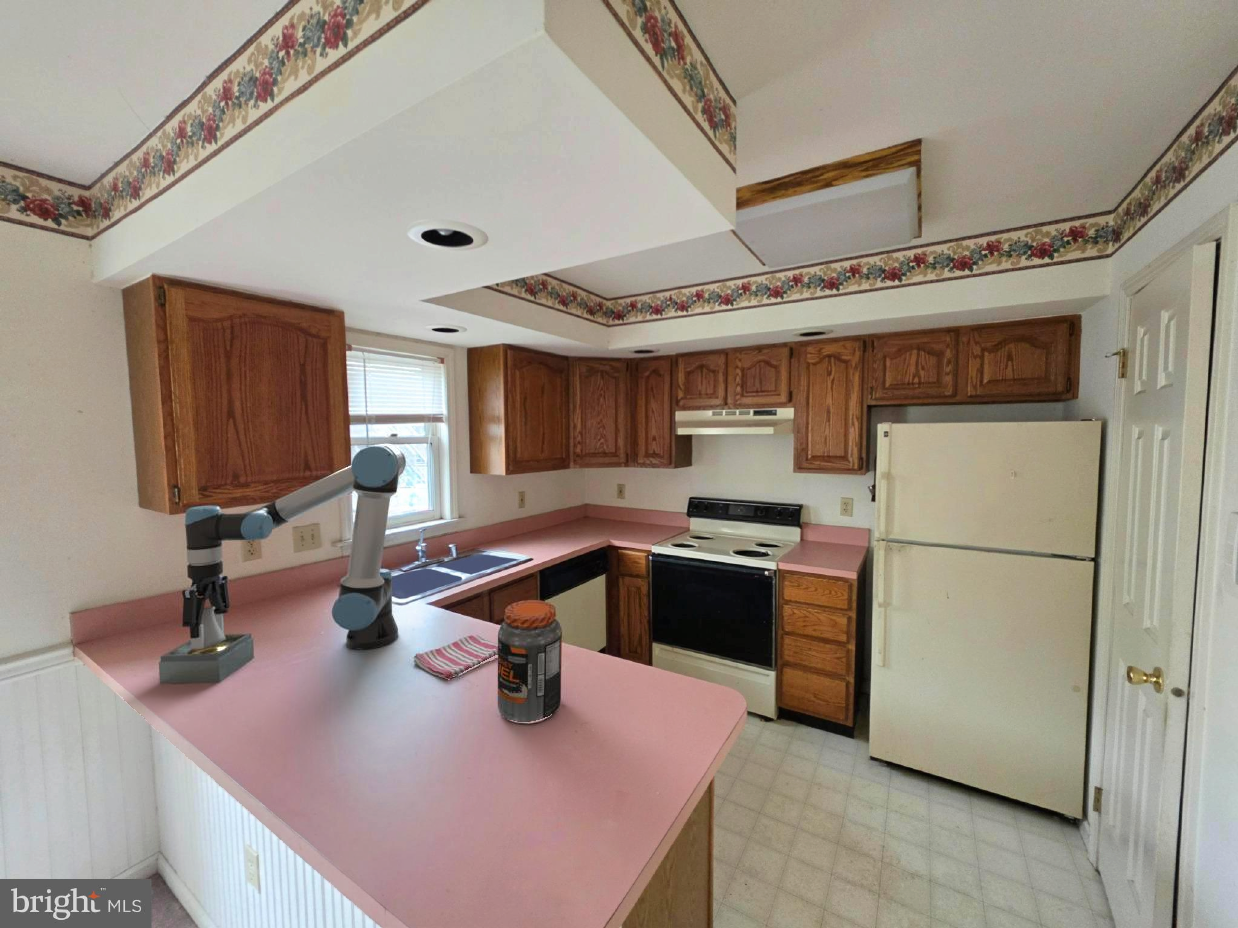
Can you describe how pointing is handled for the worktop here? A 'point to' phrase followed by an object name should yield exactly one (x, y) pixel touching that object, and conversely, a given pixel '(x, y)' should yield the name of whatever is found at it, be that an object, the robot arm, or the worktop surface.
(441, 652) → the dish towel
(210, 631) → the flask
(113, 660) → the worktop surface
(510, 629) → the supplement tub
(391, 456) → the robot arm
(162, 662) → the grey boxy piece
